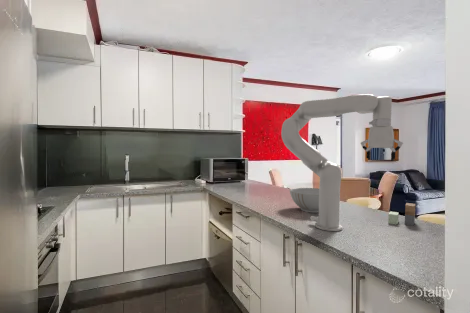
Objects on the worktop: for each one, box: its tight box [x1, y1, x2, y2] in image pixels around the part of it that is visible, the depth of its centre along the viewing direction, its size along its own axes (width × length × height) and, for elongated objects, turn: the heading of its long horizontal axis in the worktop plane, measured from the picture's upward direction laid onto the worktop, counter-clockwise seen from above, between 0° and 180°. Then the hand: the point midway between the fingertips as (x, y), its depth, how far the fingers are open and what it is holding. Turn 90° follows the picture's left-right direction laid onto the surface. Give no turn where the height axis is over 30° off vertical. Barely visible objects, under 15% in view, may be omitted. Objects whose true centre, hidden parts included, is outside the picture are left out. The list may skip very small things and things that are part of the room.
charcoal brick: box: [404, 214, 416, 226], centre depth 138 cm, size 7×4×5 cm, turn 143°
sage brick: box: [387, 210, 400, 225], centre depth 139 cm, size 7×4×5 cm, turn 144°
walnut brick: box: [404, 202, 416, 217], centre depth 138 cm, size 7×4×5 cm, turn 143°
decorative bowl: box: [289, 187, 319, 214], centre depth 164 cm, size 27×27×12 cm
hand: (380, 160), depth 123 cm, fingers open, 9 cm apart
